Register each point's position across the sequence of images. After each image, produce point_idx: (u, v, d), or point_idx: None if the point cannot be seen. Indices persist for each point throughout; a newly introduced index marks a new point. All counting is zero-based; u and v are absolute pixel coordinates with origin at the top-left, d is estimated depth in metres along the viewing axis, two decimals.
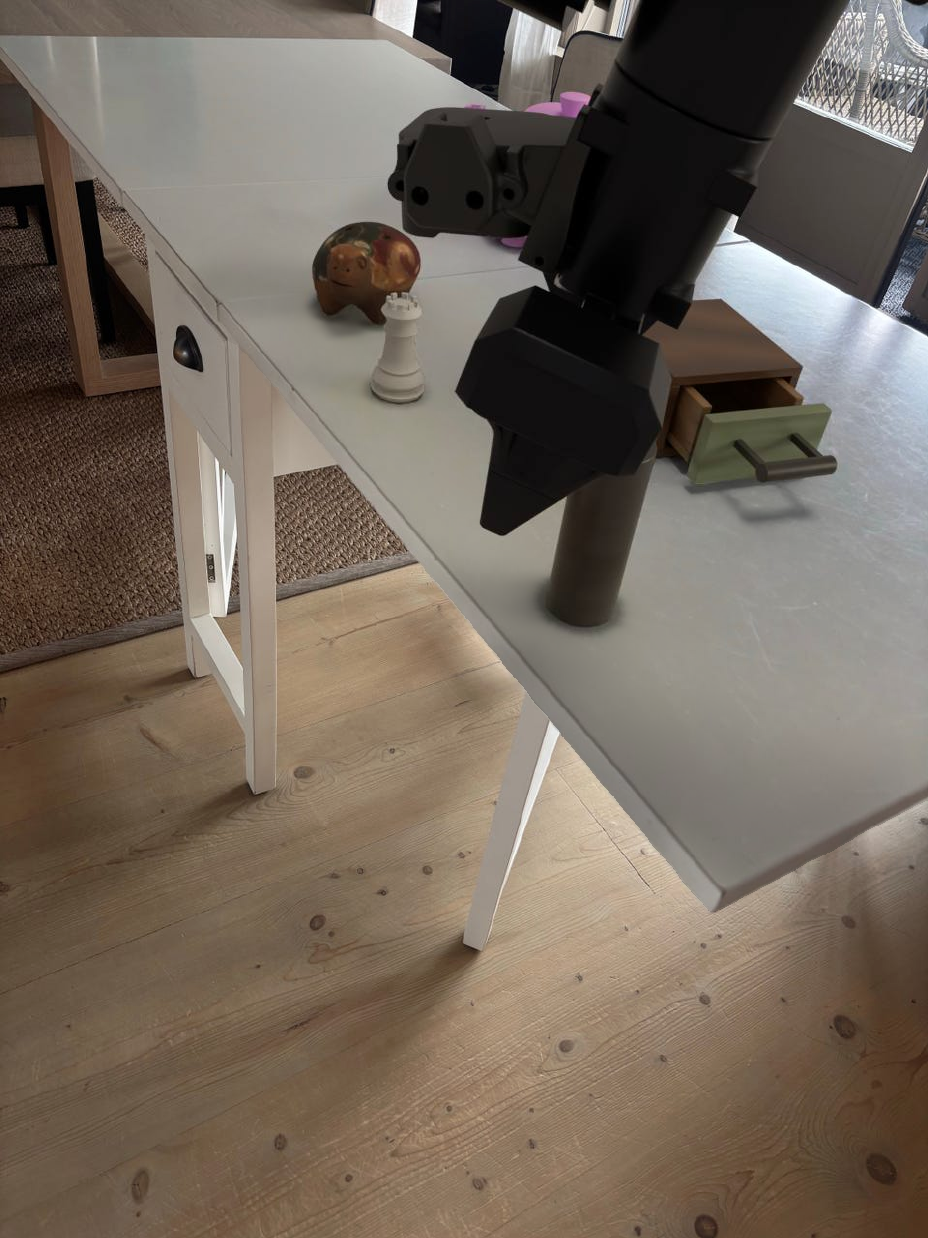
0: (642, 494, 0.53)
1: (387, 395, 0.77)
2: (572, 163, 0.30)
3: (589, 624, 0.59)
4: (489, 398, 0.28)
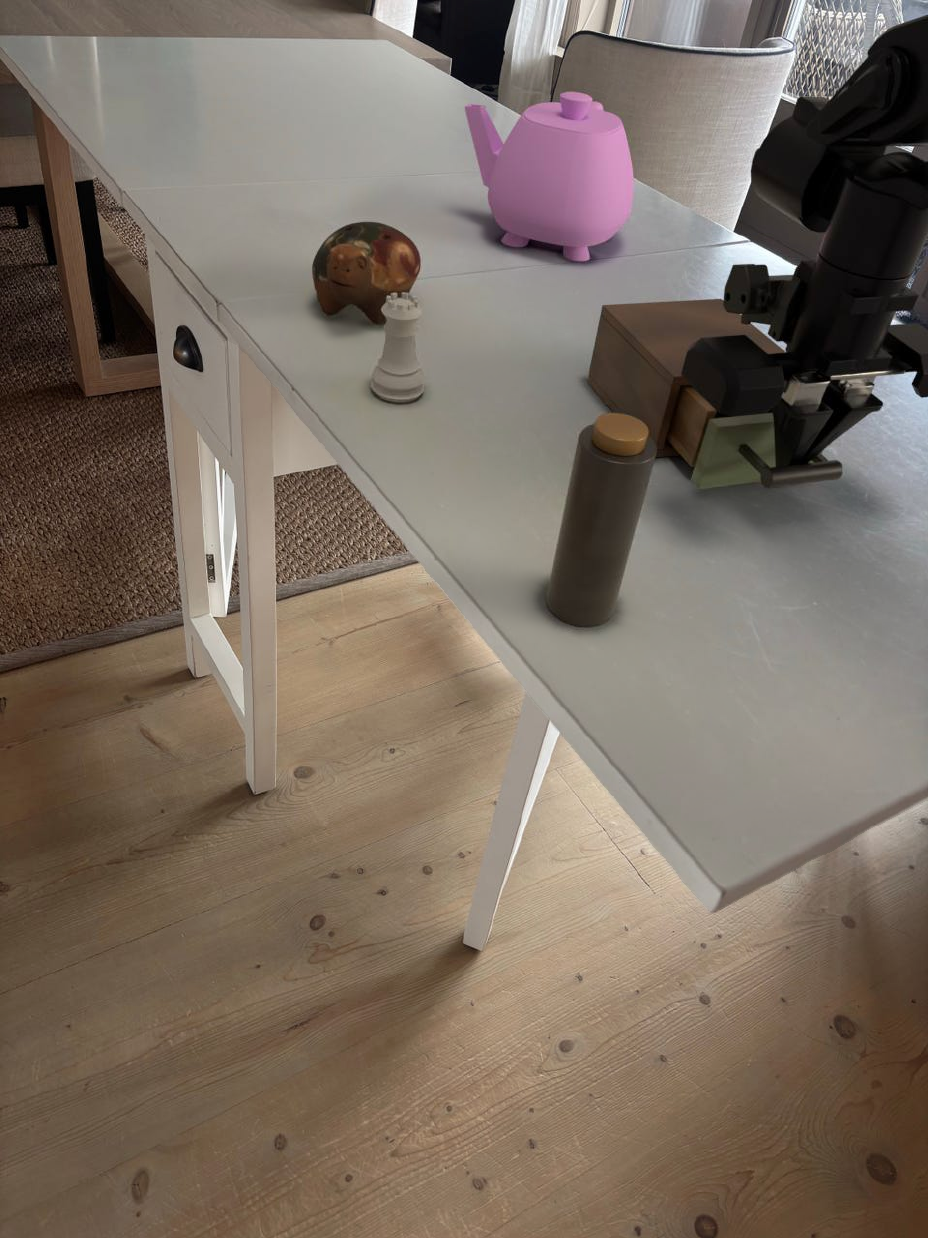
0: (642, 494, 0.53)
1: (387, 395, 0.77)
2: (792, 286, 0.61)
3: (589, 624, 0.59)
4: (686, 369, 0.62)
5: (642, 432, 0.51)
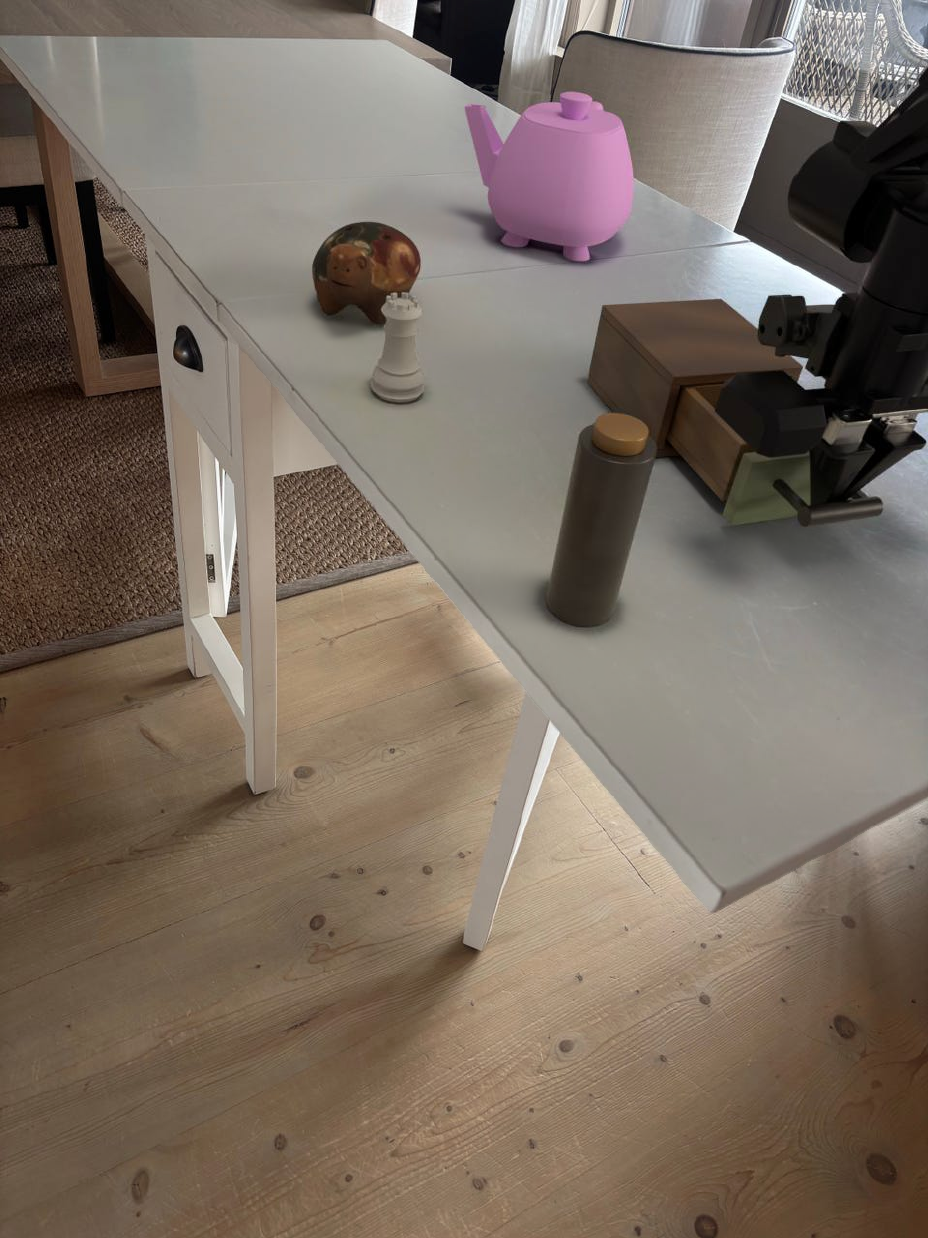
0: (642, 494, 0.53)
1: (387, 395, 0.77)
2: (832, 320, 0.58)
3: (589, 624, 0.59)
4: (721, 406, 0.59)
5: (642, 432, 0.51)
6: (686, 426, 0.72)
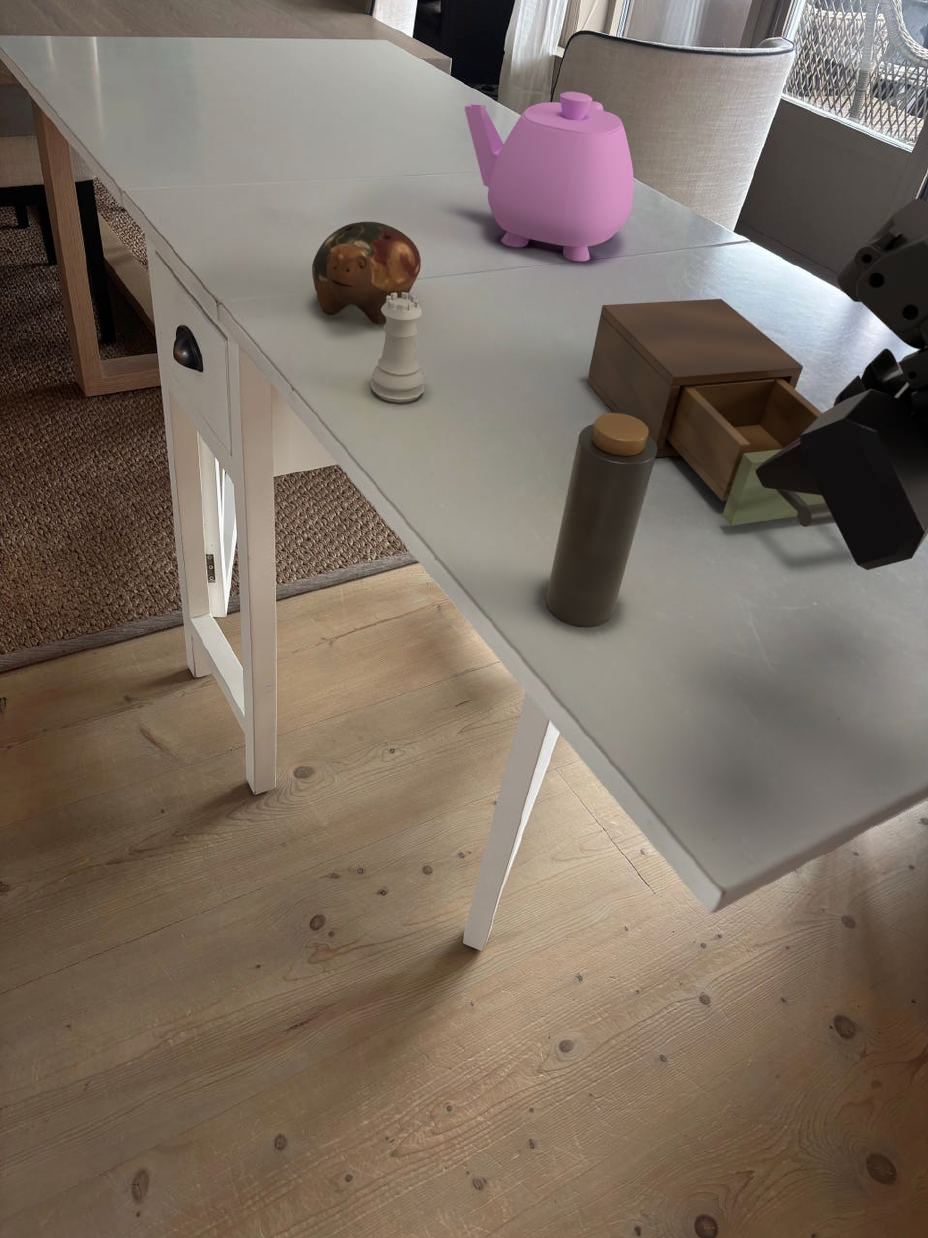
0: (642, 494, 0.53)
1: (387, 395, 0.77)
2: None
3: (589, 624, 0.59)
4: (821, 460, 0.36)
5: (642, 432, 0.51)
6: (686, 426, 0.72)
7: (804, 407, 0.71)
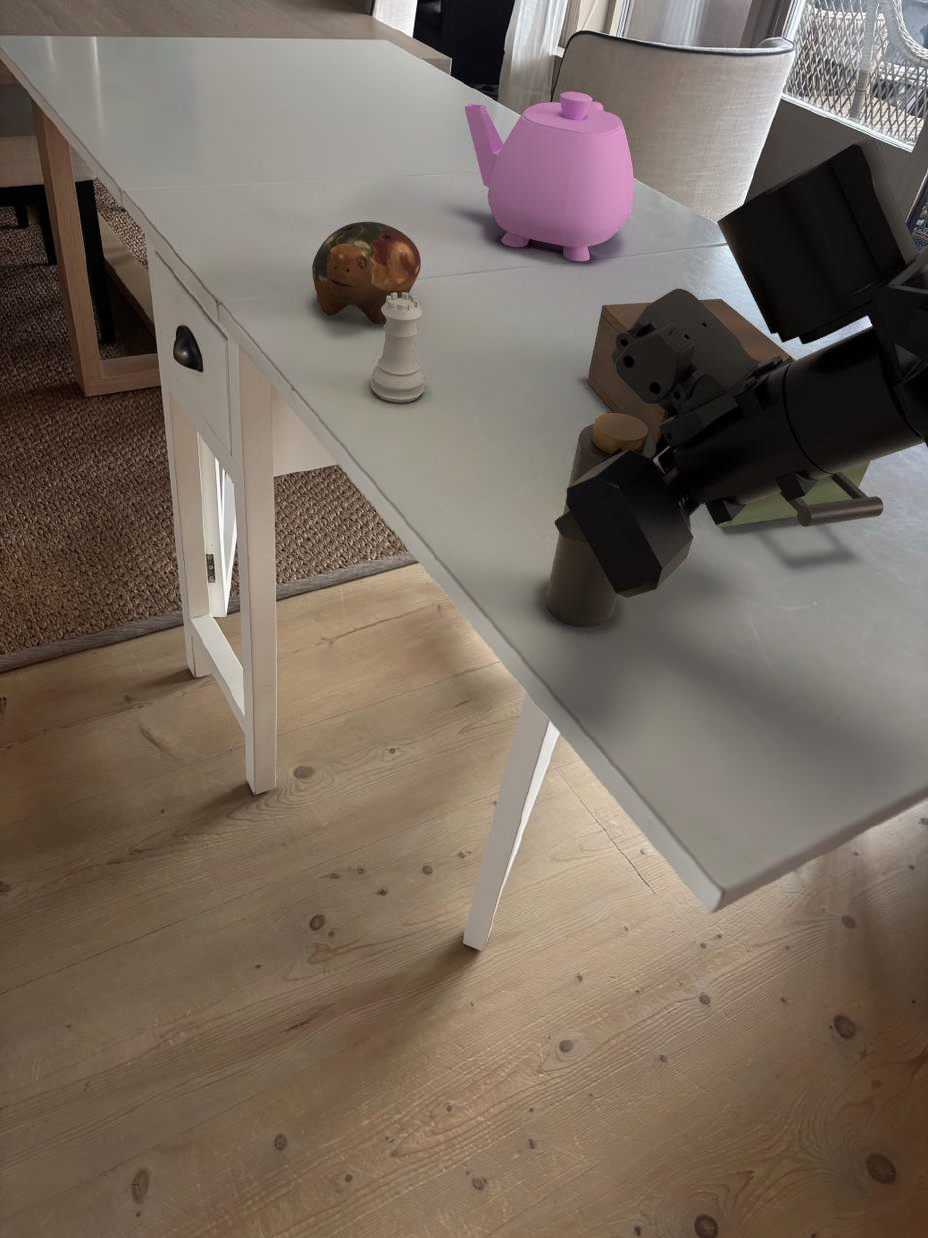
0: None
1: (387, 395, 0.77)
2: (722, 405, 0.45)
3: (589, 624, 0.59)
4: (580, 509, 0.44)
5: (642, 432, 0.51)
6: None
7: None
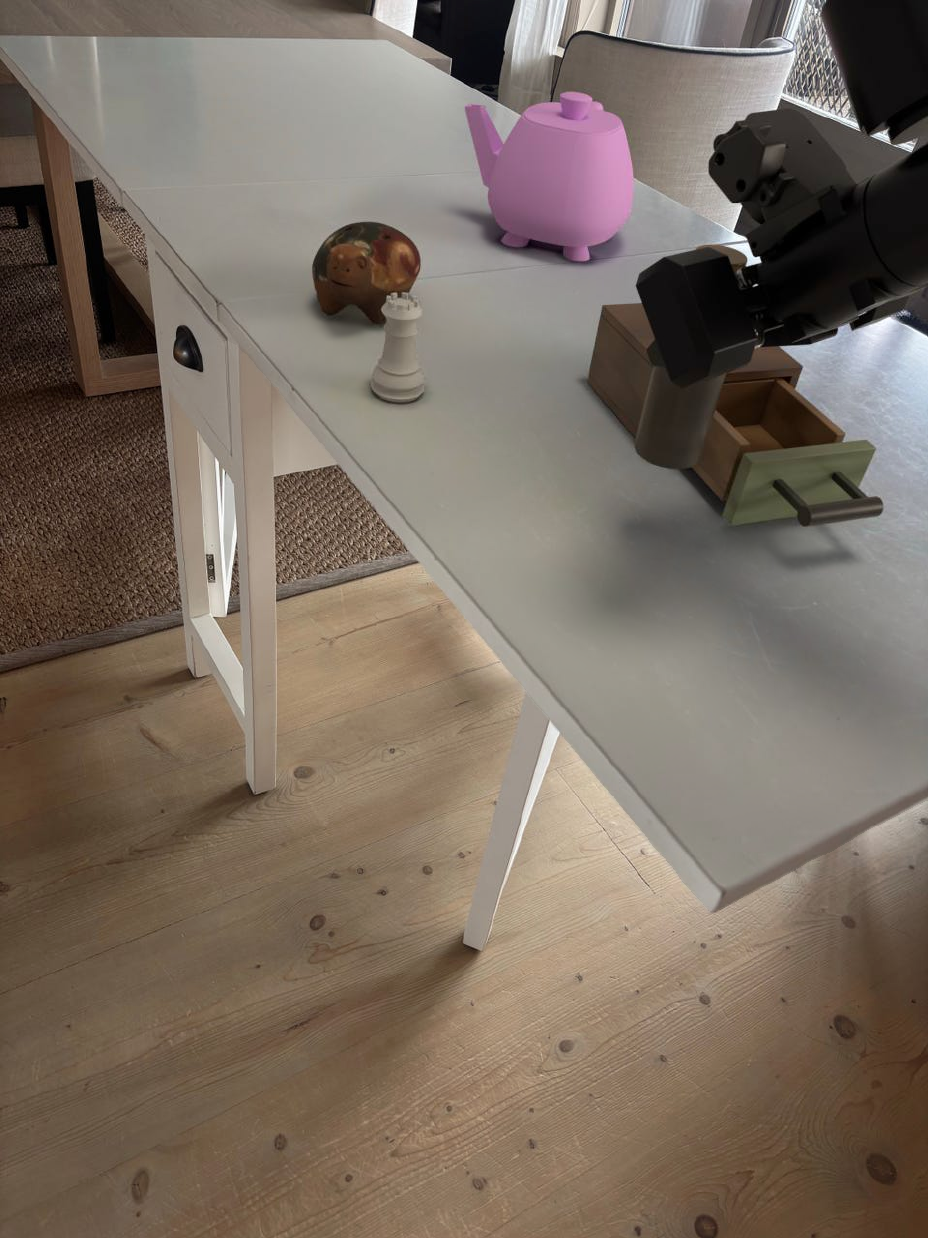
0: None
1: (387, 395, 0.77)
2: (806, 208, 0.46)
3: (669, 466, 0.60)
4: (647, 290, 0.47)
5: (740, 260, 0.53)
6: None
7: (804, 407, 0.71)
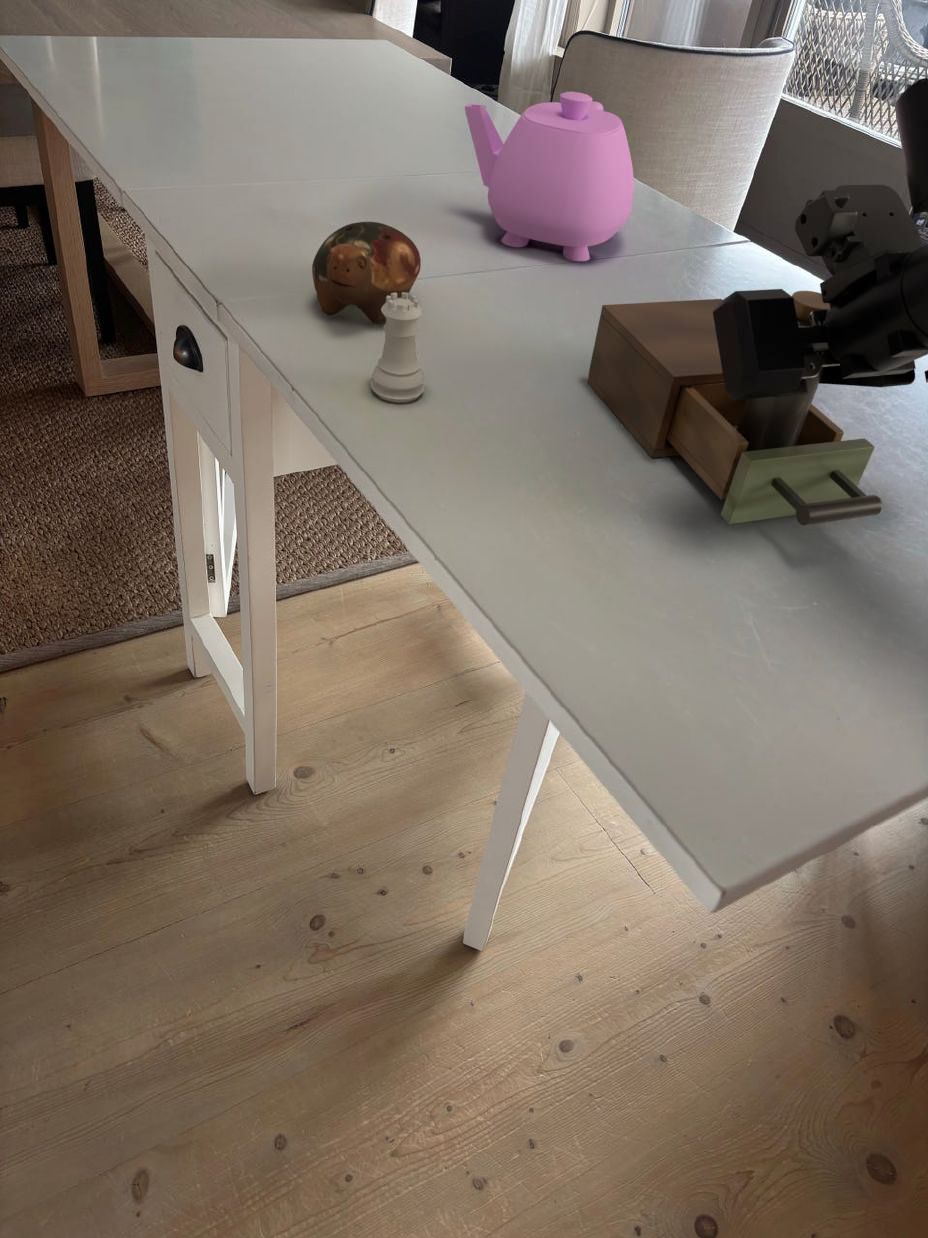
0: None
1: (387, 395, 0.77)
2: (864, 267, 0.55)
3: None
4: (719, 316, 0.58)
5: (828, 306, 0.62)
6: (685, 424, 0.72)
7: None
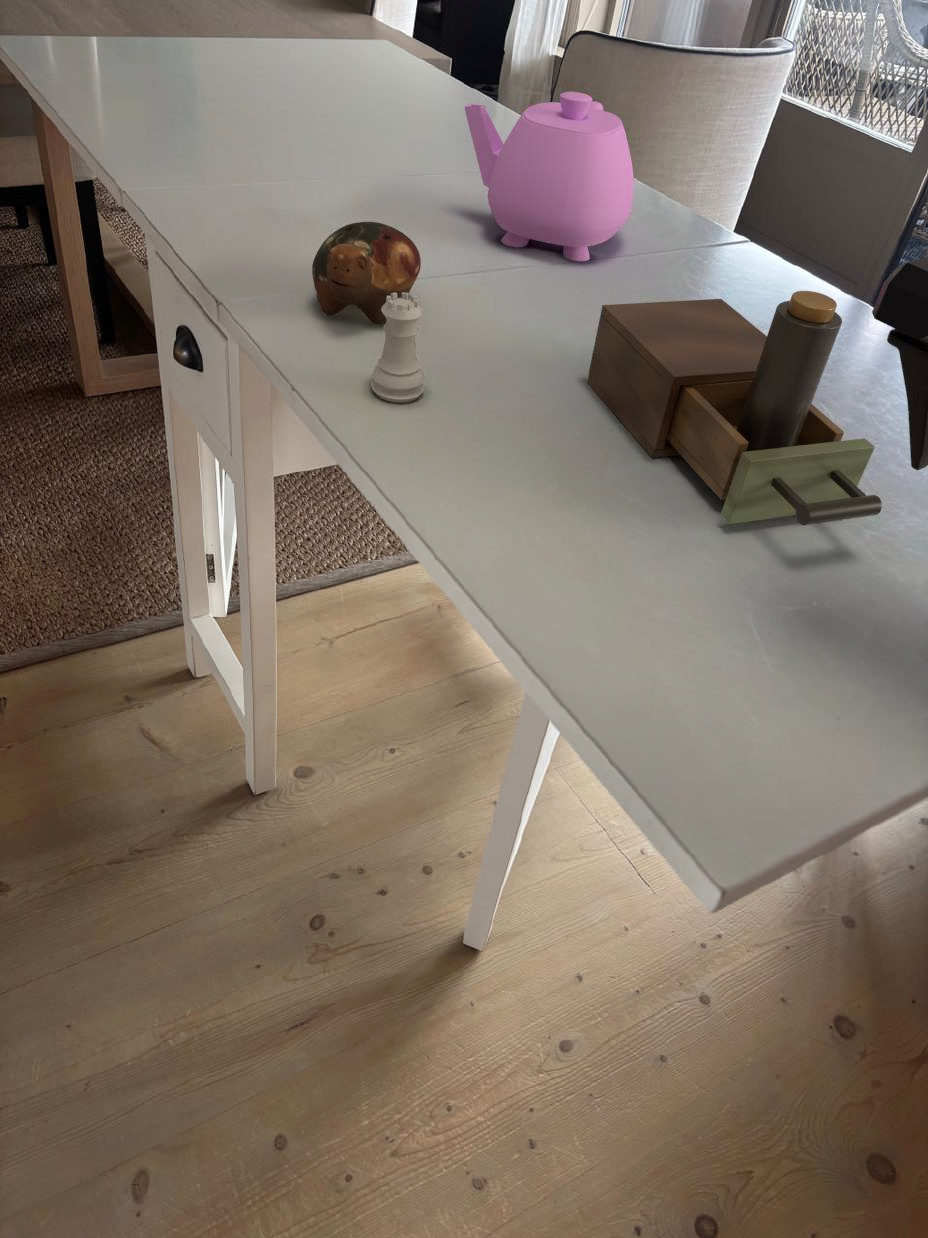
0: (815, 362, 0.64)
1: (387, 395, 0.77)
2: None
3: None
4: None
5: (828, 306, 0.62)
6: (685, 424, 0.72)
7: None
